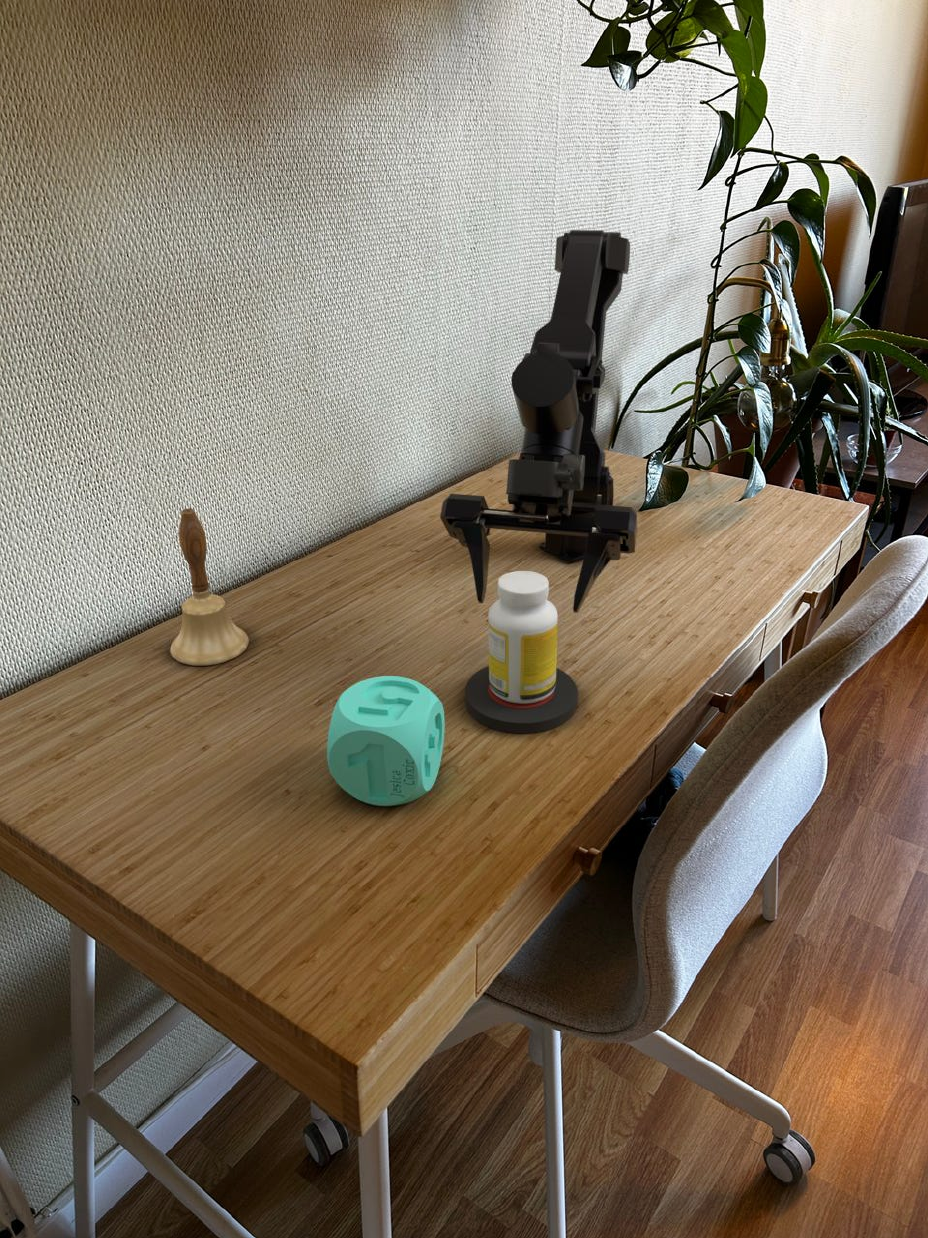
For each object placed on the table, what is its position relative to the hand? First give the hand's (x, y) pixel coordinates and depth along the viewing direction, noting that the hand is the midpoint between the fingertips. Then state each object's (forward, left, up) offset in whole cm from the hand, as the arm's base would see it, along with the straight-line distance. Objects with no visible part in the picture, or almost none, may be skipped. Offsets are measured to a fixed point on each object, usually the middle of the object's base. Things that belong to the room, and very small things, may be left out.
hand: (527, 606), depth 87 cm
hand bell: (+22, -27, -9) cm, 36 cm away
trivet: (+2, +2, -9) cm, 9 cm away
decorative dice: (+18, +4, -9) cm, 21 cm away
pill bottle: (+2, +2, -8) cm, 8 cm away
